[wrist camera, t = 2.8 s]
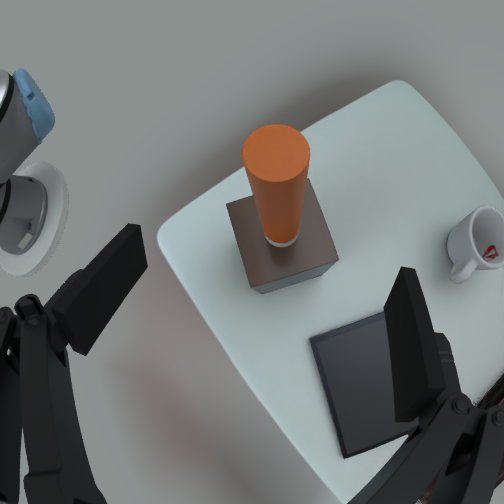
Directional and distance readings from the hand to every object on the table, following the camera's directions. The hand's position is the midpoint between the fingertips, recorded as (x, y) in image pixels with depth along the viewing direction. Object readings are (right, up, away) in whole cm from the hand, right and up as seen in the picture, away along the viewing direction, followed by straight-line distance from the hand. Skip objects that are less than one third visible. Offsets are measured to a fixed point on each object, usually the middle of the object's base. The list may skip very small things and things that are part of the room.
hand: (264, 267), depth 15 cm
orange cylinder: (+2, +3, +12) cm, 12 cm away
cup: (+28, 0, +21) cm, 35 cm away
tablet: (+15, -16, +19) cm, 29 cm away
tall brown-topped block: (+3, 0, +24) cm, 24 cm away
